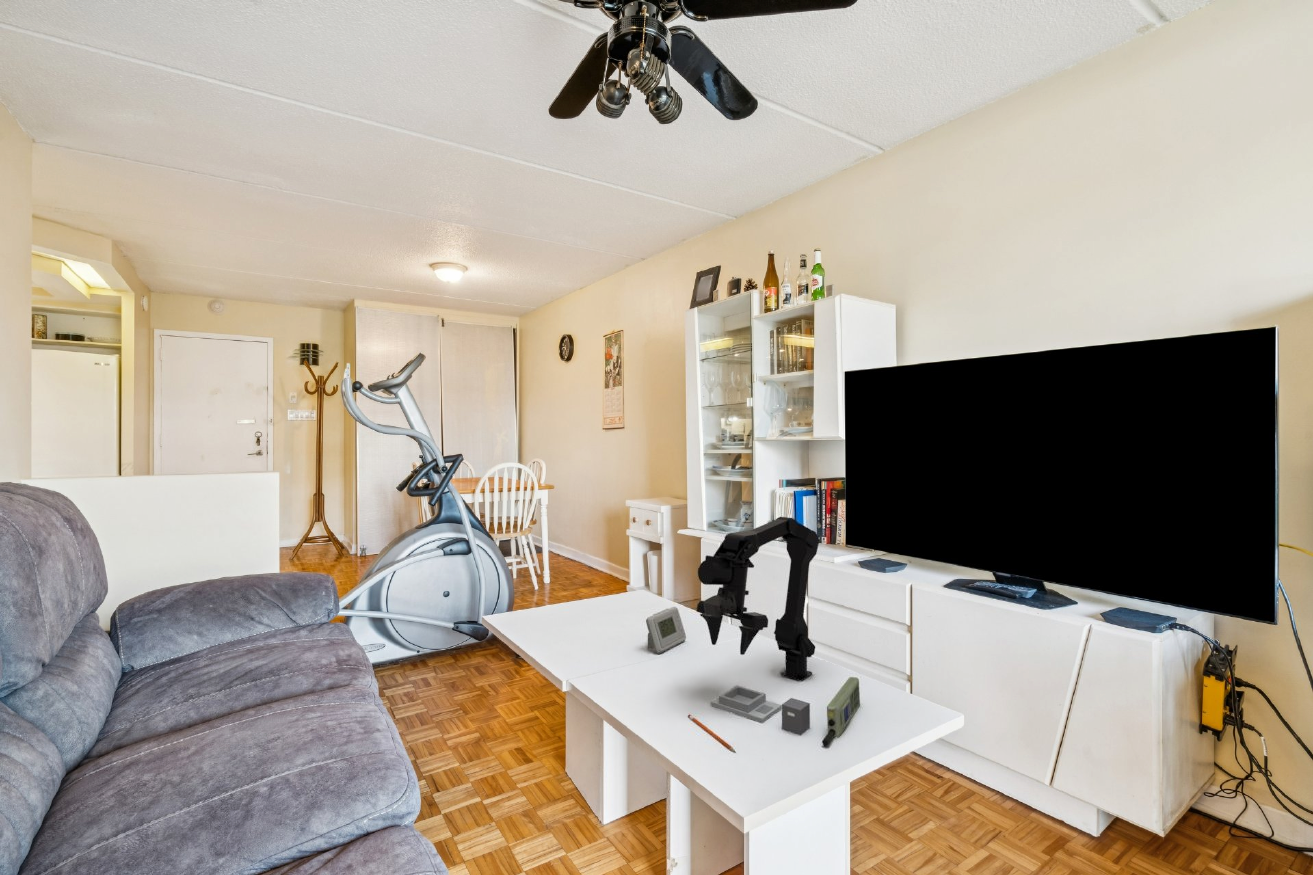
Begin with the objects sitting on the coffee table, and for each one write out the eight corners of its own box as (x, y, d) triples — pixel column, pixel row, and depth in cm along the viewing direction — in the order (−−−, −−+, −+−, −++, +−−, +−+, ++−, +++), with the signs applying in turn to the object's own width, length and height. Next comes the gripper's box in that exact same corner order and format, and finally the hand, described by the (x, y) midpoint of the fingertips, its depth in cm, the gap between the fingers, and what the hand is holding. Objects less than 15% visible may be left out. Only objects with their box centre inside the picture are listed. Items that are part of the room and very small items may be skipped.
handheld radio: (862, 705, 146) (833, 751, 125) (848, 703, 148) (817, 747, 126) (861, 677, 146) (832, 718, 125) (847, 675, 148) (816, 715, 127)
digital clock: (657, 656, 180) (657, 620, 180) (636, 648, 186) (636, 614, 186) (694, 643, 191) (693, 609, 191) (673, 636, 198) (673, 604, 198)
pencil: (690, 717, 140) (690, 713, 140) (738, 754, 124) (738, 750, 124) (687, 718, 140) (687, 714, 140) (734, 755, 123) (734, 751, 123)
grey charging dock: (731, 693, 153) (731, 682, 153) (781, 709, 144) (781, 697, 144) (711, 705, 146) (711, 694, 146) (762, 723, 137) (762, 710, 137)
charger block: (791, 721, 137) (791, 697, 137) (809, 727, 134) (809, 703, 134) (781, 729, 134) (781, 704, 134) (800, 735, 131) (800, 710, 131)
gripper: (685, 578, 152) (677, 641, 150) (742, 592, 138) (735, 662, 136) (714, 578, 159) (708, 639, 157) (772, 592, 145) (765, 658, 144)
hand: (727, 649), depth 149 cm, fingers open, 9 cm apart
